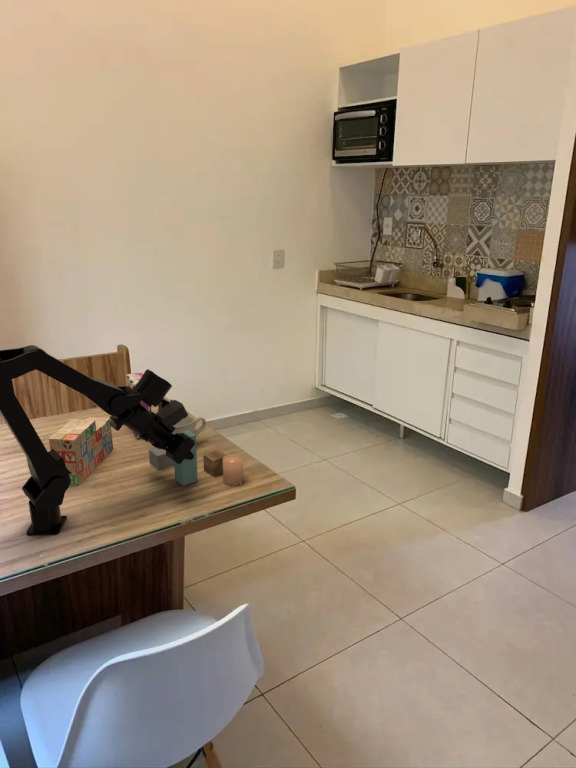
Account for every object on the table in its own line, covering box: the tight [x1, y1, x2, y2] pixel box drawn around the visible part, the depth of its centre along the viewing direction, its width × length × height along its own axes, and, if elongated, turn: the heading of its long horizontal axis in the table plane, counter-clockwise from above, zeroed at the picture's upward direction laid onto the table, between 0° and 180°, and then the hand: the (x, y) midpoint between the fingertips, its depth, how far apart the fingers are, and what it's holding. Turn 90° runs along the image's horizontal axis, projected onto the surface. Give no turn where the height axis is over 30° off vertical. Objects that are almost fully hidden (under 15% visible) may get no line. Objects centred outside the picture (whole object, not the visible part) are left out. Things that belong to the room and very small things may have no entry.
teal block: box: [173, 430, 199, 487], centre depth 139 cm, size 4×4×12 cm
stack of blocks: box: [48, 416, 114, 487], centre depth 146 cm, size 21×6×12 cm, turn 174°
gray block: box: [148, 447, 174, 471], centre depth 149 cm, size 5×5×4 cm
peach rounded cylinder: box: [222, 453, 245, 486], centre depth 140 cm, size 5×5×6 cm
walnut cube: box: [202, 449, 227, 478], centre depth 145 cm, size 4×4×4 cm
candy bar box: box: [125, 372, 152, 440], centre depth 167 cm, size 11×5×16 cm, turn 25°
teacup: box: [172, 414, 207, 438], centre depth 159 cm, size 14×11×8 cm
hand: (188, 454), depth 139 cm, fingers closed on teal block, 4 cm apart
